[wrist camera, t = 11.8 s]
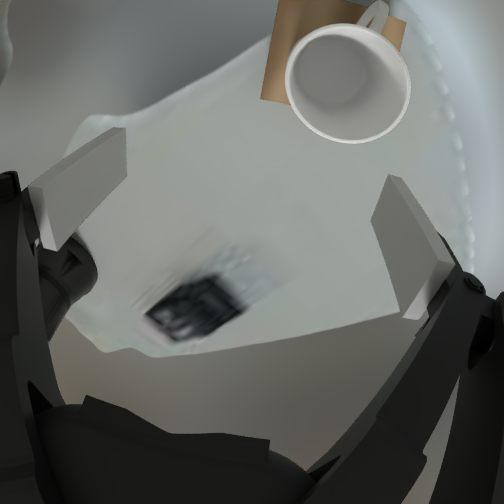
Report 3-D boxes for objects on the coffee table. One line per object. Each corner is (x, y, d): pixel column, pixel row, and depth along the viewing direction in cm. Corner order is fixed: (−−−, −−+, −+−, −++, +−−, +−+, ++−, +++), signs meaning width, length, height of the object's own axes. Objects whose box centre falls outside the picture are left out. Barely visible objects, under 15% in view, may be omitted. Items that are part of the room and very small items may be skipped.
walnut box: (265, 90, 33) (260, 98, 28) (284, -4, 25) (281, -13, 20) (366, 115, 33) (377, 128, 28) (389, 25, 25) (406, 22, 20)
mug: (331, -9, 20) (352, -41, 11) (404, 41, 22) (461, 44, 12) (270, 82, 27) (255, 102, 18) (342, 126, 29) (365, 171, 19)
